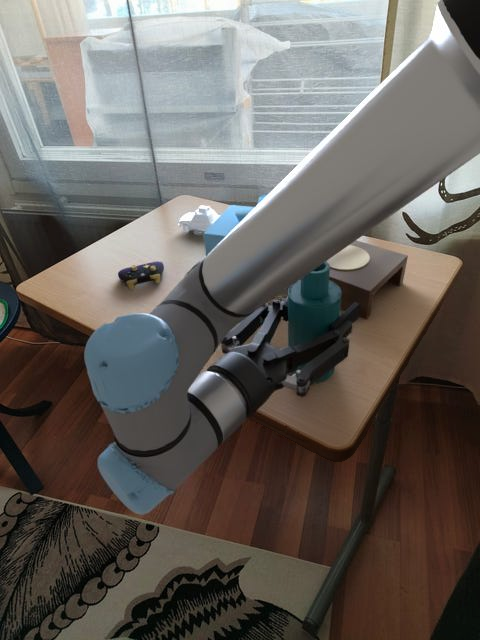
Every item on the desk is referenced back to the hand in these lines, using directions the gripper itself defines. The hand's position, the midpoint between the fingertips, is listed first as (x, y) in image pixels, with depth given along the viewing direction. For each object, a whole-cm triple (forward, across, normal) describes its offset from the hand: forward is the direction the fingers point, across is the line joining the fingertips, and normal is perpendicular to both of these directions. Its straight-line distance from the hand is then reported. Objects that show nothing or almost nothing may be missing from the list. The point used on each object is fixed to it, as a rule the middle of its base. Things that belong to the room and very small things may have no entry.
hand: (332, 301), depth 62 cm
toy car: (+18, -47, -10) cm, 51 cm away
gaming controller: (-5, -42, -10) cm, 43 cm away
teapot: (+11, -26, -10) cm, 30 cm away
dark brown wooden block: (+17, -8, -10) cm, 21 cm away
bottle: (-5, 0, -10) cm, 11 cm away
